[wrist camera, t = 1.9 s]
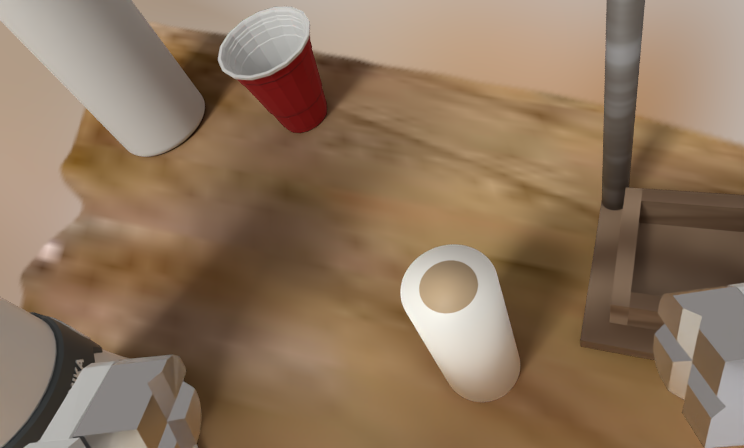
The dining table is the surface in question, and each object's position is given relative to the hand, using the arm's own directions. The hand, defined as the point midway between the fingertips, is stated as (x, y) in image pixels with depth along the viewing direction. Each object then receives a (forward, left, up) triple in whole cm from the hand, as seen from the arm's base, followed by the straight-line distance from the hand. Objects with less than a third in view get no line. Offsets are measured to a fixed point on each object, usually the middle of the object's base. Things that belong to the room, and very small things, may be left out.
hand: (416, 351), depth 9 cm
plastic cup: (+37, +35, -34) cm, 61 cm away
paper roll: (+11, +7, -33) cm, 36 cm away
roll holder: (+21, -7, -33) cm, 40 cm away
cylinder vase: (+35, +57, -34) cm, 75 cm away
